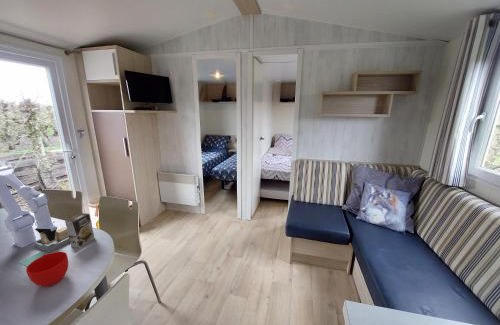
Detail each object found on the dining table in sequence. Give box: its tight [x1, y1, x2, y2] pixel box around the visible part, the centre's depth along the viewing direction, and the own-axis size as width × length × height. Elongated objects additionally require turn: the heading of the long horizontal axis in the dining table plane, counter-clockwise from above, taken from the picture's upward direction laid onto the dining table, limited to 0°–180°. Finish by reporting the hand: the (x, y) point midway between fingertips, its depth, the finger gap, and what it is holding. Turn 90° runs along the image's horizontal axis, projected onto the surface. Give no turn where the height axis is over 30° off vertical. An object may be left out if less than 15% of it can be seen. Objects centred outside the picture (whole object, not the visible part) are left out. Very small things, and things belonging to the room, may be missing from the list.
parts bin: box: [32, 238, 70, 253], centre depth 119 cm, size 14×14×3 cm
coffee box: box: [64, 212, 96, 248], centre depth 117 cm, size 9×6×16 cm
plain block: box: [56, 226, 69, 242], centre depth 121 cm, size 5×5×6 cm
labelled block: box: [38, 232, 57, 245], centre depth 115 cm, size 5×5×6 cm
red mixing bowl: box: [25, 251, 69, 288], centre depth 93 cm, size 13×17×10 cm
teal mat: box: [18, 250, 49, 268], centre depth 106 cm, size 9×9×1 cm
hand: (49, 239), depth 116 cm, fingers closed on labelled block, 5 cm apart
